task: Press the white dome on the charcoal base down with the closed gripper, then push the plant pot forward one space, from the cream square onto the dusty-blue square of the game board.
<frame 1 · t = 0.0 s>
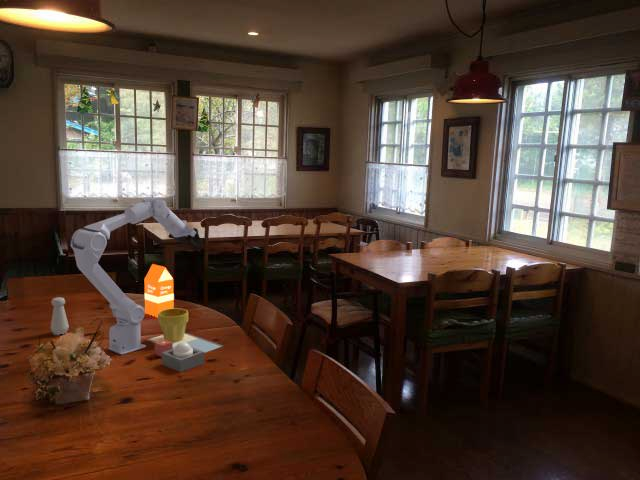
hand: (193, 243, 196), 32 cm above the table, tool tilted 50°, fingers open, 7 cm apart
dome button: (183, 349, 167), point 5 cm above the table, slide at 0.0 cm
salt shaker: (59, 334, 190), on the table
plant pot: (173, 339, 189), resting on game board
orange juice: (159, 314, 217), on the table
game board: (184, 343, 185), on the table
dome base: (183, 363, 167), on the table
red die: (163, 354, 174), on the table
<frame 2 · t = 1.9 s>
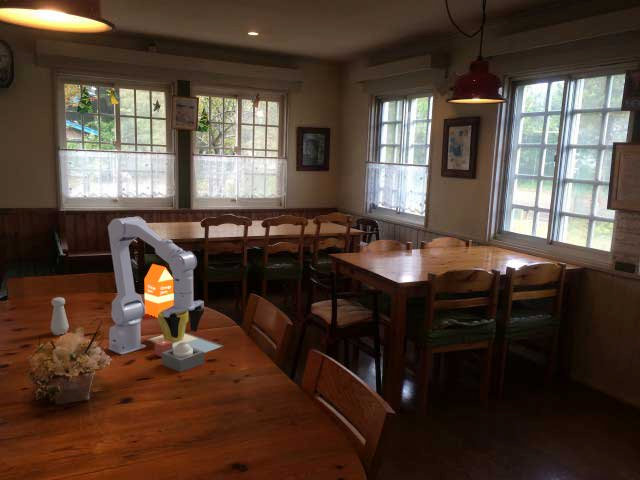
hand: (184, 334, 166), 10 cm above the table, tool pointing down, fingers open, 7 cm apart
nothing on the table moved.
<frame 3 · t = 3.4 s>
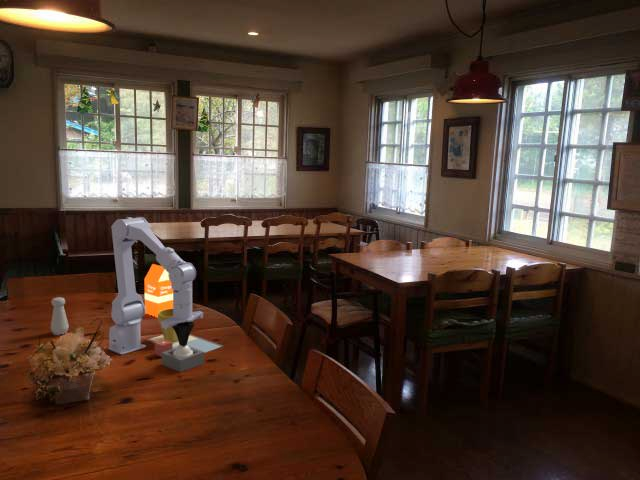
hand: (183, 344, 166), 6 cm above the table, tool pointing down, fingers closed, pressing on dome button
dome button: (183, 352, 167), point 4 cm above the table, slide at 0.7 cm, touching gripper
everything else where it was.
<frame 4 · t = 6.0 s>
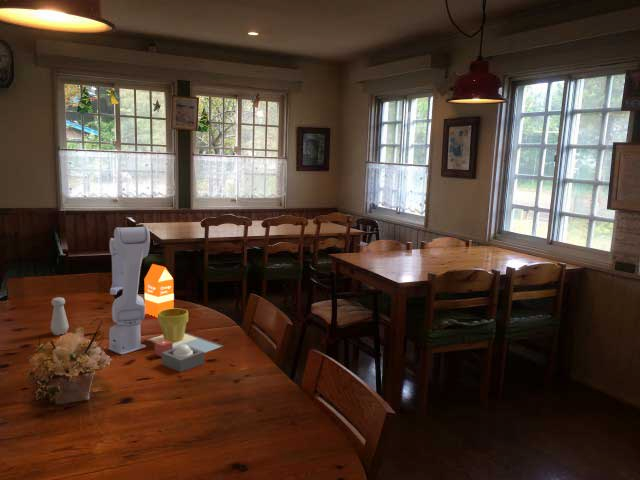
hand: (121, 308, 190), 9 cm above the table, tool pointing down, fingers closed
dome button: (183, 352, 167), point 4 cm above the table, slide at 0.7 cm
everything else where it was.
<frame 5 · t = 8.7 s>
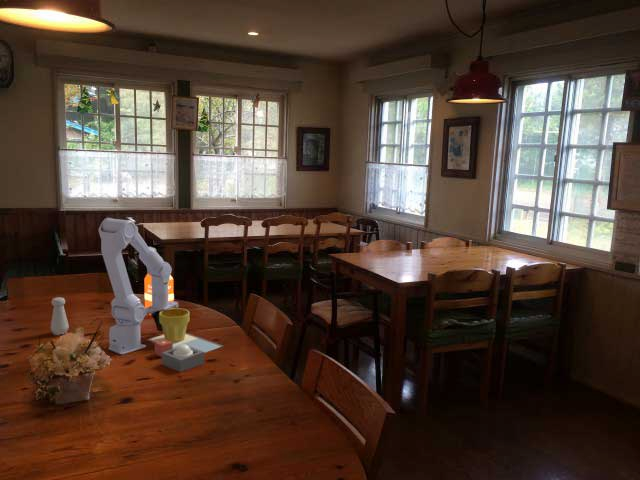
hand: (160, 330, 193), 1 cm above the table, tool pointing down, fingers closed, pressing on plant pot
plant pot: (174, 339, 188), resting on game board, touching gripper
everything else where it was.
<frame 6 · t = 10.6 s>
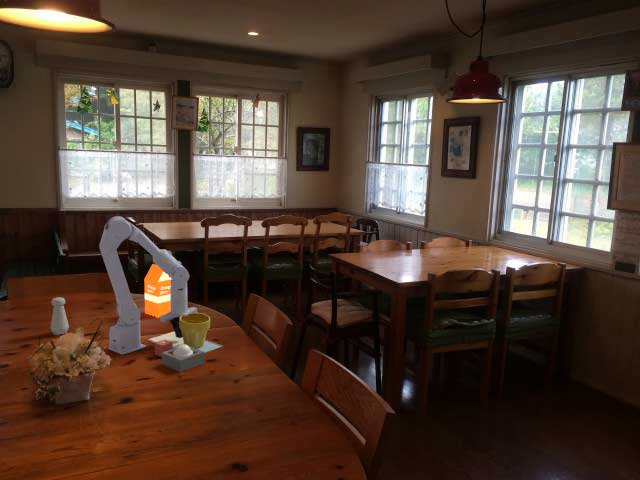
hand: (179, 337, 186), 1 cm above the table, tool pointing down, fingers closed, pressing on plant pot
plant pot: (193, 345, 183), resting on game board, touching gripper
everything else where it was.
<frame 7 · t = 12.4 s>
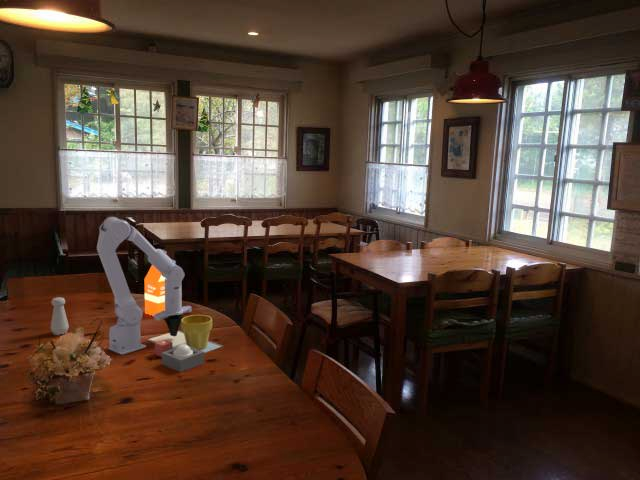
hand: (173, 335, 188), 1 cm above the table, tool pointing down, fingers closed
plant pot: (196, 347, 182), resting on game board
everything else where it was.
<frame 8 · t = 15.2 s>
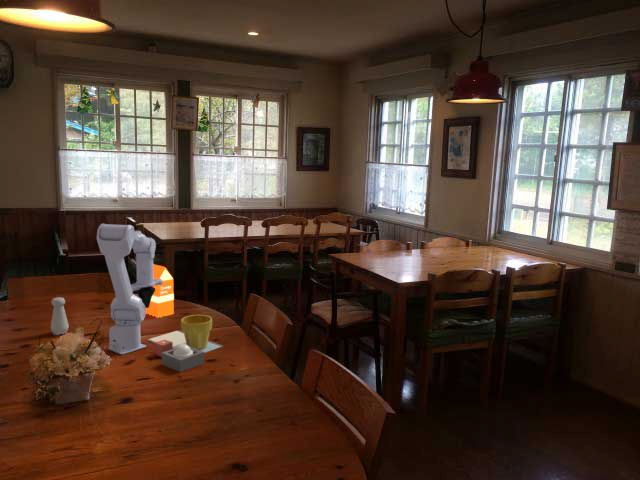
hand: (145, 307, 193), 9 cm above the table, tool pointing down, fingers closed
nothing on the table moved.
at the end: dome button slide at 0.7 cm; plant pot inside the target area (0.4 cm from its centre), resting on game board; plant pot tilted 0° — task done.
